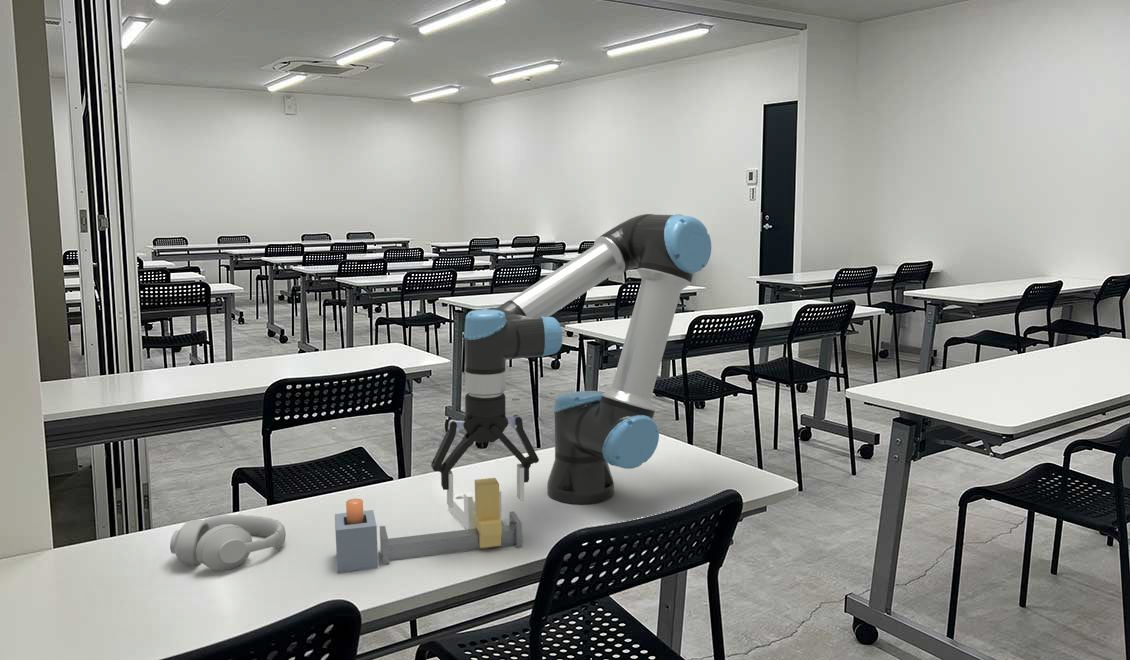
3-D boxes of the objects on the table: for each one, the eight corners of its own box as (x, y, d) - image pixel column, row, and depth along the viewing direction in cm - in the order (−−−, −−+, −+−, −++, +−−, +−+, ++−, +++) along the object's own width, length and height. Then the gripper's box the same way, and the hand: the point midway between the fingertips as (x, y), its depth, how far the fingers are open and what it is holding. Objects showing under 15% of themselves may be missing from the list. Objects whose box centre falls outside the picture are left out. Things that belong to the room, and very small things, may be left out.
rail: (514, 535, 165) (514, 511, 165) (521, 547, 160) (521, 522, 159) (380, 551, 158) (379, 526, 157) (383, 564, 152) (382, 538, 151)
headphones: (231, 581, 145) (302, 551, 164) (232, 536, 144) (304, 511, 163) (147, 566, 151) (226, 538, 170) (149, 523, 150) (227, 500, 169)
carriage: (494, 532, 165) (493, 474, 163) (501, 546, 158) (501, 486, 156) (474, 535, 163) (472, 476, 162) (481, 549, 157) (480, 488, 155)
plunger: (363, 523, 155) (362, 497, 154) (364, 529, 152) (363, 503, 151) (346, 525, 154) (345, 499, 153) (347, 531, 151) (346, 505, 150)
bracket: (501, 527, 170) (501, 491, 169) (468, 533, 167) (467, 497, 166) (479, 505, 182) (478, 472, 181) (448, 511, 179) (447, 477, 178)
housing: (374, 550, 159) (373, 509, 157) (378, 567, 151) (376, 525, 150) (336, 554, 157) (334, 514, 155) (338, 572, 149) (336, 530, 148)
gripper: (544, 385, 163) (543, 489, 166) (415, 392, 156) (417, 501, 159) (555, 393, 156) (554, 502, 159) (420, 401, 149) (422, 515, 152)
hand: (485, 502), depth 159 cm, fingers open, 13 cm apart
